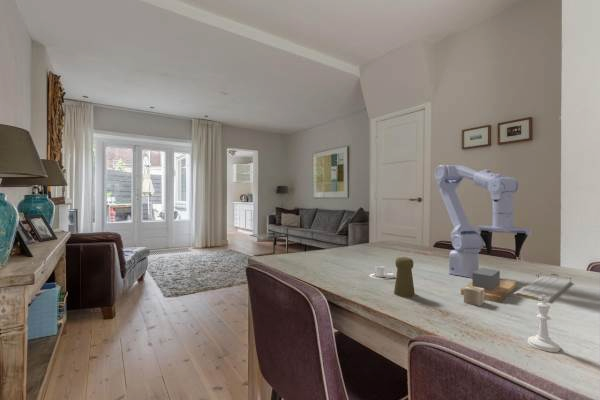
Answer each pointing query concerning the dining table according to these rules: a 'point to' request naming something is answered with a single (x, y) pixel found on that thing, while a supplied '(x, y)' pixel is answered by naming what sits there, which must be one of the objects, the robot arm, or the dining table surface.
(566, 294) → the dining table surface
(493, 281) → the block
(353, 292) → the dining table surface
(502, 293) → the board
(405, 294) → the cork
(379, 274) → the teacup and saucer
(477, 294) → the beige cube
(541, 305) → the chess piece
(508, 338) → the dining table surface
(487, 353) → the dining table surface
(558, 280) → the baseboard
